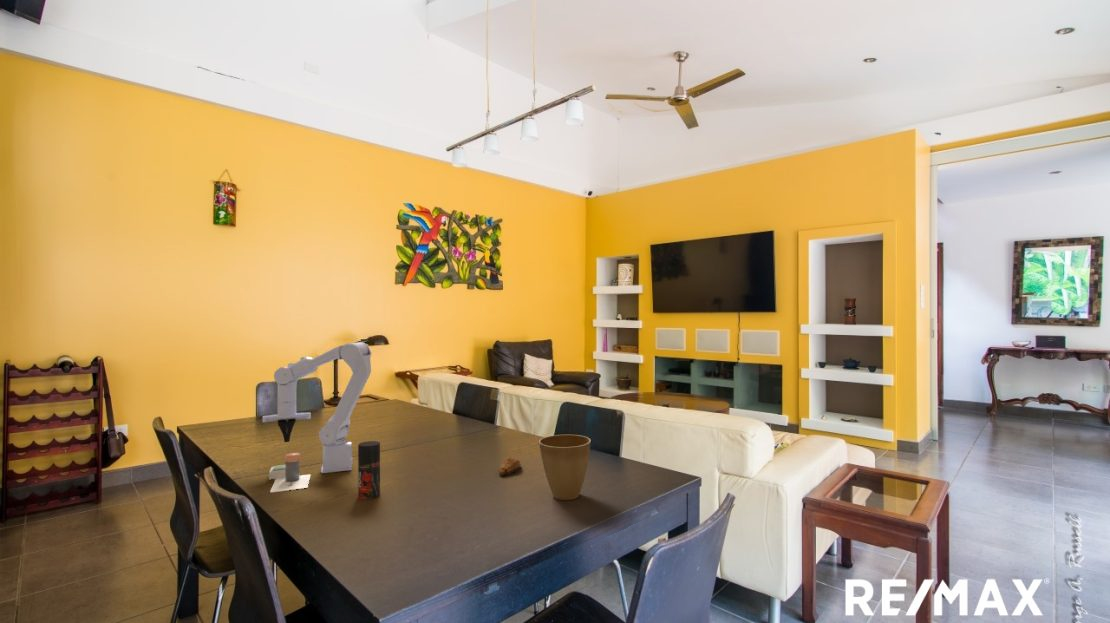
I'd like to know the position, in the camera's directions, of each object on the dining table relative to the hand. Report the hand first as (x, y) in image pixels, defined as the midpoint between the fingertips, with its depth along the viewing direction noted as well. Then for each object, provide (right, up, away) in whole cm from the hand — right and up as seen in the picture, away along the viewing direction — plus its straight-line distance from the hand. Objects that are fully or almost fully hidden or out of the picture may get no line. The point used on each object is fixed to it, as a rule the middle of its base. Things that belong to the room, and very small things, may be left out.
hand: (287, 441), depth 172 cm
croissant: (+77, -9, -4) cm, 78 cm away
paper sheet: (+10, -9, -16) cm, 21 cm away
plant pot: (+95, -9, -28) cm, 99 cm away
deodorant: (+38, -9, -27) cm, 47 cm away
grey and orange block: (+9, -9, -13) cm, 18 cm away
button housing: (+2, -9, -8) cm, 12 cm away
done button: (+2, -9, -8) cm, 12 cm away
